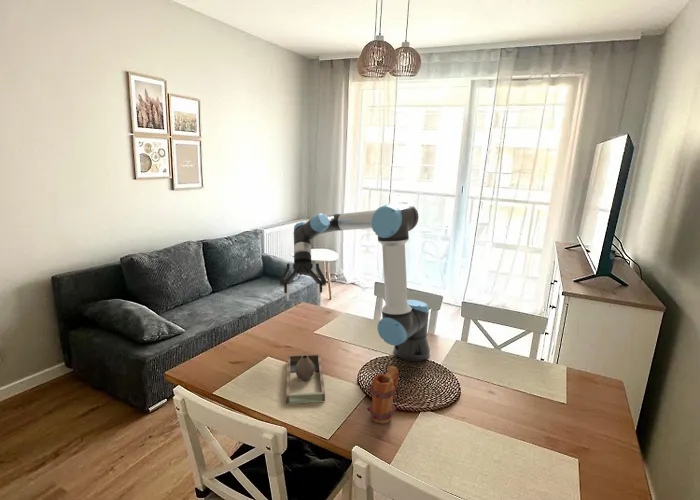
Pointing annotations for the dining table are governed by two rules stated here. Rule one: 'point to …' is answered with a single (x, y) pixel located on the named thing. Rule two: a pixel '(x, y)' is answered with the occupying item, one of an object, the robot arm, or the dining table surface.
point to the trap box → (305, 396)
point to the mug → (383, 395)
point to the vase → (304, 368)
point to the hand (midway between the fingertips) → (303, 299)
